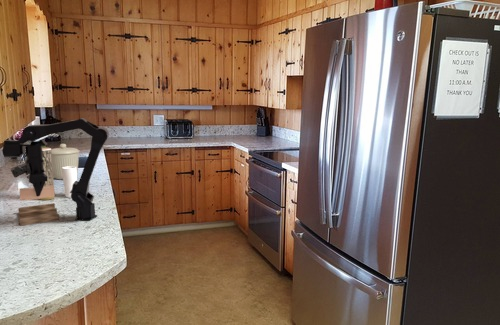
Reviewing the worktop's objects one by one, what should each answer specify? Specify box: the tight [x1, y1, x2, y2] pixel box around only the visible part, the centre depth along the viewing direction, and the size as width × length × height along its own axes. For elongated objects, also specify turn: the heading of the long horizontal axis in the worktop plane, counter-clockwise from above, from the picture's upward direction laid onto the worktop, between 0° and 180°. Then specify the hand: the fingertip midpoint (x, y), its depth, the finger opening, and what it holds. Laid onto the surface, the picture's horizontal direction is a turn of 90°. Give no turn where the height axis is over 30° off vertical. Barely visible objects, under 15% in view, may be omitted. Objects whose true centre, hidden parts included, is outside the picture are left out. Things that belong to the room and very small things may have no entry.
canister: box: [51, 143, 81, 180], centre depth 234 cm, size 18×18×21 cm
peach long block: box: [18, 185, 55, 202], centre depth 156 cm, size 12×4×4 cm, turn 124°
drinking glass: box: [62, 166, 78, 199], centre depth 194 cm, size 7×7×15 cm
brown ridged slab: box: [17, 203, 60, 227], centre depth 163 cm, size 14×18×2 cm
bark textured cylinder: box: [39, 147, 55, 201], centre depth 188 cm, size 7×7×25 cm
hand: (37, 194), depth 156 cm, fingers closed on peach long block, 4 cm apart
